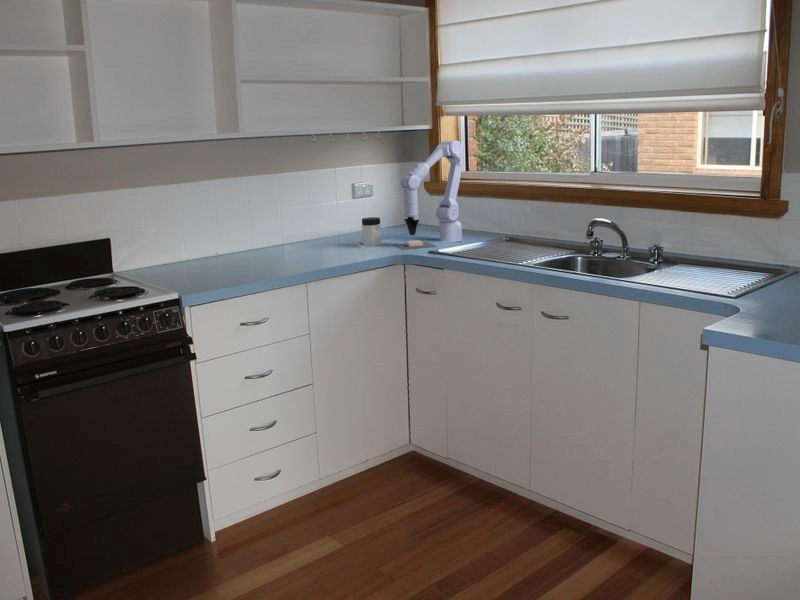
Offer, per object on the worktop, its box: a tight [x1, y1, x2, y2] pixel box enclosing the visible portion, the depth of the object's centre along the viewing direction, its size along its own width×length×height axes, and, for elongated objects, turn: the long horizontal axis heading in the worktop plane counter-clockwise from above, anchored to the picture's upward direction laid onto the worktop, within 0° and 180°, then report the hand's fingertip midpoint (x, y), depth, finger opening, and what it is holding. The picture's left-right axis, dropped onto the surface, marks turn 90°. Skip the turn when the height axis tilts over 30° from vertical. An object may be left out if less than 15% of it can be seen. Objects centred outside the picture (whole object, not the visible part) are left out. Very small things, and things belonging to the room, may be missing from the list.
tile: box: [404, 239, 424, 247], centre depth 348 cm, size 6×2×7 cm
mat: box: [392, 241, 439, 251], centre depth 347 cm, size 16×16×1 cm
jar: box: [361, 216, 382, 246], centre depth 357 cm, size 9×8×12 cm
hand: (412, 234), depth 349 cm, fingers closed
